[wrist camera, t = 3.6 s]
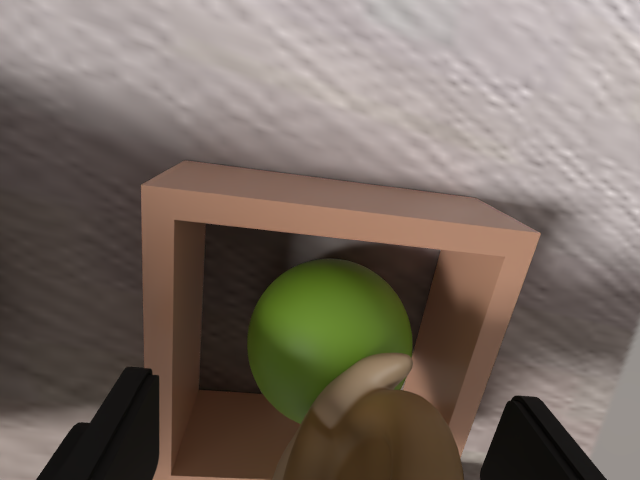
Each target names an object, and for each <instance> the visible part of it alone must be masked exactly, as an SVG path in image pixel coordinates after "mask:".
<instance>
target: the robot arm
mask: <svg viewBox="0 0 640 480" xmlns="http://www.w3.org/2000/svg"><path fill="white" fill-rule="evenodd" d="M158 461H159V375H153V373H152V369H150V368H139V367H126V368H125V370H124V371H123V372H122V374H121V375H120V377H119V379H118V380H117V382H116V383H115V385H114V386H113V388H112V390H111V391H110V393H109V394H108V396H107V397H106V399H105V400H104V402H103V404H102V405H101V407H100V408H99V410H98V411H97V413H96V415H95V416H94V418H93V419H92V421H91V422H90V423H83V422H81V423H77V424H76V425H74V426H73V428H72V429H71V430H70V431H69V433H68V434H67V435H66V437H65V438H64V440H63V441H62V443H61V444H60V446H59V447H58V449H57V450H56V452H55V453H54V454H53V456H52V457H51V459H50V460H49V462H48V463H47V465H46V466H45V468H44V469H43V470H42V472H41V473H40V475H39V476H38V478H37V479H36V480H153V477H154V475H155V472H156V469H157V465H158ZM480 480H607V479H606V478H605V477H604V476H603V474H602V473H601V472H600V471H599V470H598V468H597V467H596V466H595V465H594V464H593V462H592V461H591V460H590V459H589V457H588V456H587V455H586V454H585V453H584V451H583V450H582V449H581V448H580V447H579V445H578V444H577V443H576V442H575V440H574V439H573V438H572V437H571V436H570V434H569V433H568V432H567V431H566V429H565V428H564V427H563V426H562V425H561V423H560V422H559V421H558V420H557V419H556V417H555V416H554V415H553V414H552V412H551V411H550V410H549V409H548V408H547V406H546V405H545V404H544V403H543V402H542V401H541V400H540V399H539V398H537V397H529V396H514V397H513V398H512V400H511V401H508V402H507V404H506V406H505V408H504V411H503V414H502V416H501V419H500V421H499V424H498V427H497V429H496V432H495V434H494V437H493V440H492V442H491V445H490V447H489V450H488V453H487V455H486V458H485V460H484V463H483V466H482V468H481V471H480Z"/></svg>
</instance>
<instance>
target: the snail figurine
mask: <svg viewBox="0 0 640 480" xmlns="http://www.w3.org/2000/svg"><path fill="white" fill-rule="evenodd" d="M412 346H413V344H412V331H411V326H410V322H409V318H408V315H407V313H406V310H405V308H404V306H403V304H402V302H401V300H400V299H399V297H398V295H397V294H396V293H395V291H394V290H393V289H392V288H391V286H390V285H389V284H388V283H387V282H386V281H385V280H384V279H382V278H381V277H380V276H379V275H377V274H376V273H375V272H373V271H371V270H370V269H368V268H366V267H364V266H362V265H359V264H357V263H354V262H351V261H347V260H341V259H317V260H312V261H308V262H305V263H302V264H299V265H297V266H295V267H293V268H291V269H289V270H287V271H286V272H284V273H283V274H281V275H280V276H279V277H278V278H276V279H275V280H274V281H273V282H272V283H271V284H270V285H269V286H268V288H267V289H266V290H265V291H264V293H263V294H262V296H261V297H260V299H259V300H258V302H257V304H256V306H255V308H254V311H253V313H252V316H251V320H250V323H249V328H248V336H247V351H248V359H249V364H250V368H251V371H252V374H253V376H254V379H255V381H256V383H257V385H258V387H259V389H260V390H261V392H262V393H263V395H264V396H265V397H266V399H267V400H268V401H269V402H270V403H271V404H272V405H273V406H274V407H275V408H276V409H277V410H278V411H279V412H281V413H282V414H283V415H285V416H286V417H288V418H289V419H291V420H293V421H295V422H297V423H299V424H300V426H299V428H298V430H297V431H296V433H295V435H294V436H293V438H292V439H291V441H290V442H289V444H288V446H287V447H286V449H285V450H284V452H283V454H282V456H281V458H280V460H279V462H278V465H277V467H276V470H275V472H274V475H273V478H272V480H464V475H463V469H462V464H461V459H460V455H459V451H458V447H457V444H456V442H455V439H454V437H453V434H452V432H451V430H450V428H449V426H448V424H447V423H446V421H445V420H444V418H443V417H442V415H441V414H440V412H439V411H438V410H437V409H436V408H435V407H434V406H433V405H432V404H431V403H429V402H428V401H427V400H426V399H425V398H423V397H422V396H420V395H417V394H415V393H412V392H409V391H404V390H400V389H401V387H402V385H403V384H404V381H405V379H406V377H407V375H408V374H409V373H410V371H411V369H412V366H413V360H412Z"/></svg>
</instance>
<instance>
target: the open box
mask: <svg viewBox="0 0 640 480" xmlns="http://www.w3.org/2000/svg"><path fill="white" fill-rule="evenodd" d="M141 219H142V275H143V331H144V368H150V369H152V373H153V375H159V461H158V465H157V469H156V472H155V475H154V477H153V480H272V478H273V475H274V472H275V470H276V467H277V465H278V462H279V460H280V458H281V456H282V454H283V452H284V450H285V449H286V447H287V446H288V444H289V442H290V441H291V439H292V438H293V436H294V435H295V433H296V431H297V430H298V428H299V426H300V424H299V423H297V422H295V421H293V420H291V419H289V418H288V417H286V416H285V415H283V414H282V413H281V412H279V411H278V410H277V409H276V408H275V407H274V406H273V405H272V404H271V403H270V402H269V401H268V400H267V399H266V397H265V396H264V395H263V394H256V393H241V392H225V391H210V390H199V375H200V351H201V327H202V304H203V280H204V256H205V233H206V223H208V224H217V225H226V226H235V227H244V228H253V229H262V230H271V231H280V232H288V233H297V234H306V235H315V236H324V237H333V238H342V239H351V240H360V241H369V242H378V243H386V244H395V245H404V246H413V247H422V248H431V249H440V250H441V251H440V255H439V258H438V262H437V266H436V269H435V273H434V277H433V281H432V284H431V288H430V292H429V295H428V299H427V303H426V307H425V310H424V314H423V318H422V321H421V325H420V329H419V333H418V336H417V340H416V344H415V348H414V351H413V355H412V360H413V366H412V369H411V371H410V373H409V374H408V375H407V377H406V381H405V385H404V388H403V390H404V391H409V392H412V393H415V394H417V395H420V396H422V397H423V398H425V399H426V400H427V401H428V402H429V403H431V404H432V405H433V406H434V407H435V408H436V409H437V410H438V411H439V412H440V414H441V415H442V417H443V418H444V420H445V421H446V423H447V424H448V426H449V428H450V430H451V432H452V434H453V437H454V439H455V442H456V444H457V447H458V451H459V455H460V457H461V455H462V452H463V449H464V446H465V444H466V441H467V438H468V435H469V432H470V430H471V427H472V424H473V421H474V418H475V416H476V413H477V410H478V407H479V405H480V402H481V399H482V396H483V393H484V391H485V388H486V385H487V382H488V380H489V377H490V374H491V371H492V368H493V366H494V363H495V360H496V357H497V354H498V352H499V349H500V346H501V343H502V341H503V338H504V335H505V332H506V329H507V327H508V324H509V321H510V318H511V315H512V313H513V310H514V307H515V304H516V302H517V299H518V296H519V293H520V290H521V288H522V285H523V282H524V279H525V277H526V274H527V271H528V268H529V265H530V263H531V260H532V257H533V254H534V251H535V249H536V246H537V243H538V240H539V238H540V235H541V233H540V232H538V231H536V230H534V229H532V228H530V227H529V226H527V225H525V224H523V223H521V222H519V221H517V220H516V219H514V218H512V217H510V216H508V215H506V214H505V213H503V212H501V211H499V210H497V209H495V208H493V207H492V206H490V205H488V204H486V203H484V202H482V201H481V200H479V199H477V198H473V197H465V196H457V195H450V194H442V193H434V192H426V191H419V190H411V189H403V188H395V187H388V186H380V185H372V184H365V183H357V182H349V181H341V180H334V179H326V178H318V177H310V176H303V175H295V174H287V173H280V172H272V171H264V170H256V169H249V168H241V167H233V166H226V165H218V164H210V163H202V162H195V161H187V160H184V161H182V162H181V163H179V164H177V165H175V166H173V167H172V168H170V169H168V170H166V171H165V172H163V173H161V174H159V175H157V176H156V177H154V178H152V179H150V180H149V181H147V182H145V183H143V184H141Z"/></svg>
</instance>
